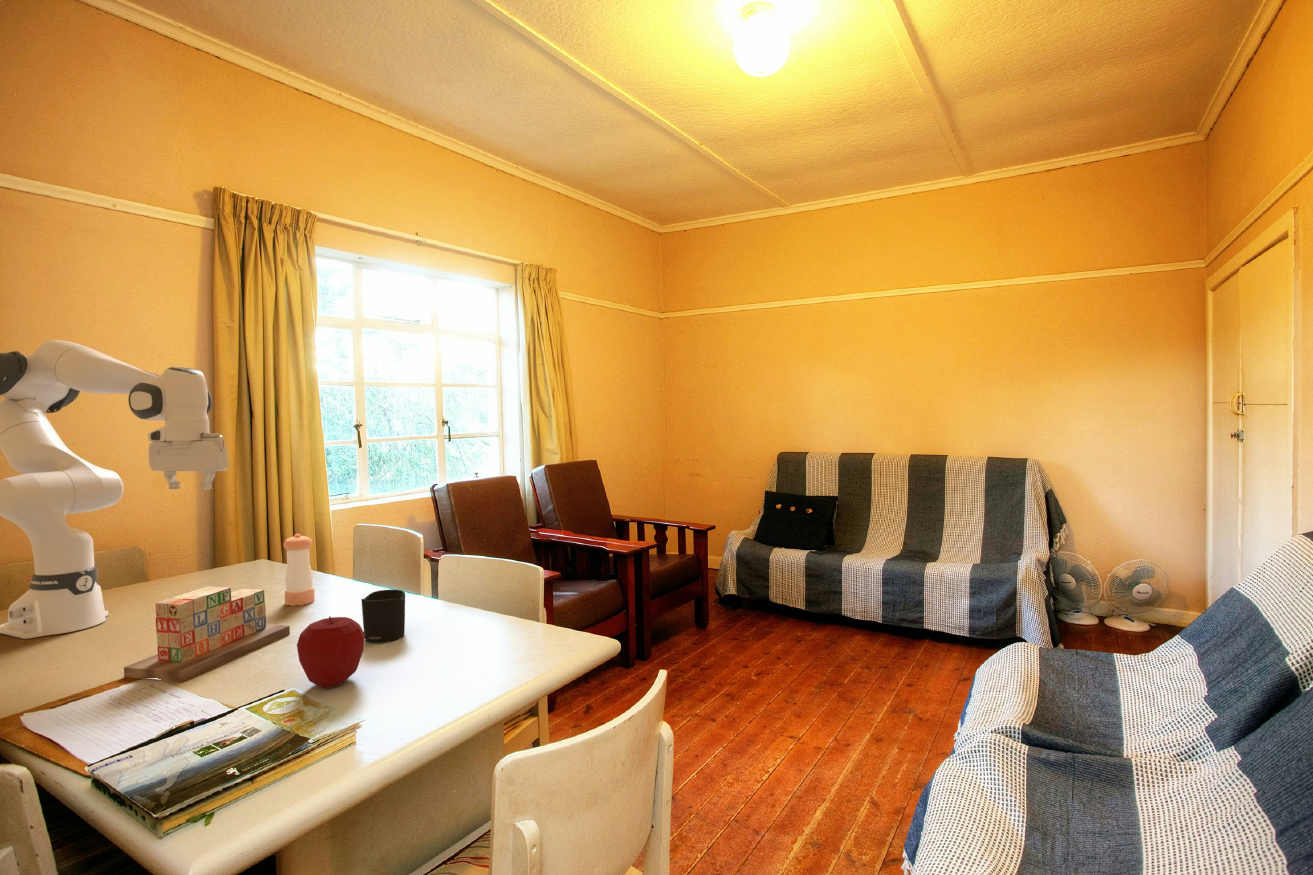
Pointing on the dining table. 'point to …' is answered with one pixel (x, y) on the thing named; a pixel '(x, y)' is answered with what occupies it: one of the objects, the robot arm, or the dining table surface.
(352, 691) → the dining table surface
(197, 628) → the stack of blocks
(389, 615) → the pen holder
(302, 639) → the apple
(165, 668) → the walnut board
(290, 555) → the pepper shaker
